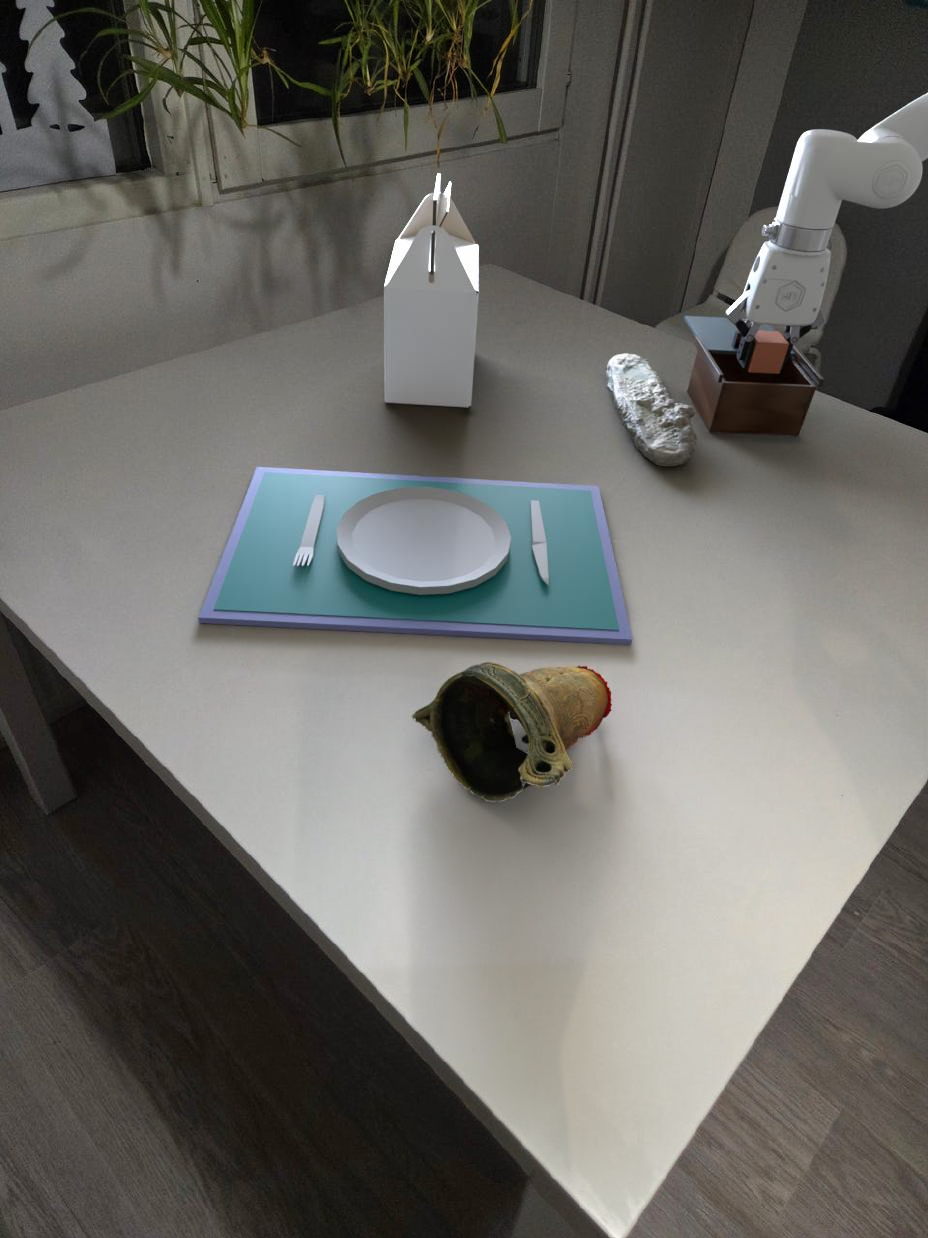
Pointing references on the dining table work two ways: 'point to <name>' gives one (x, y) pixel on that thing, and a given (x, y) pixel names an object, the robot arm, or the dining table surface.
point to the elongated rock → (650, 411)
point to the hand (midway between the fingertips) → (760, 364)
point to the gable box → (431, 308)
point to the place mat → (420, 558)
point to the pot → (482, 731)
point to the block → (768, 352)
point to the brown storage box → (751, 394)
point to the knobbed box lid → (719, 333)
